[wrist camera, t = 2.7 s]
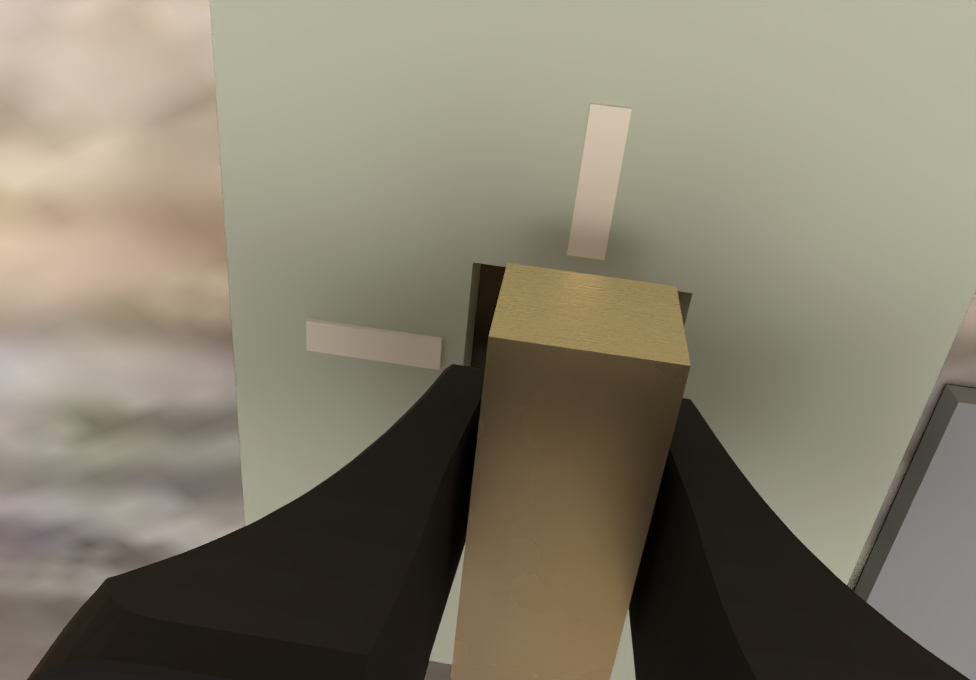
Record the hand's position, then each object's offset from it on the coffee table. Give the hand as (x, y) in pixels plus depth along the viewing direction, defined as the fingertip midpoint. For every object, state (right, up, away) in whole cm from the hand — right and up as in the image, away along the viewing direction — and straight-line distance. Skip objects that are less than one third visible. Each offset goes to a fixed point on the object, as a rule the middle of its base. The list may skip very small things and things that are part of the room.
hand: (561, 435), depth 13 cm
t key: (0, +2, +3) cm, 3 cm away
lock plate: (0, +2, +3) cm, 3 cm away
